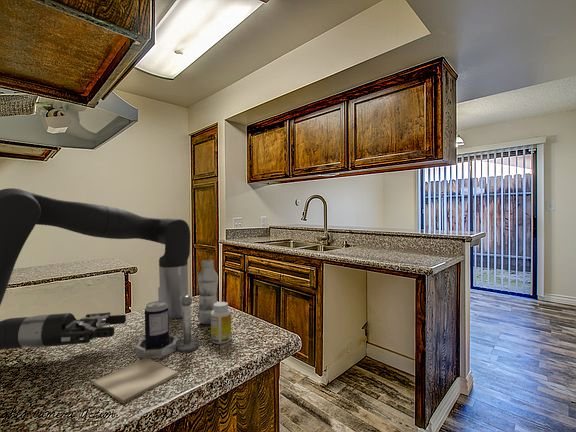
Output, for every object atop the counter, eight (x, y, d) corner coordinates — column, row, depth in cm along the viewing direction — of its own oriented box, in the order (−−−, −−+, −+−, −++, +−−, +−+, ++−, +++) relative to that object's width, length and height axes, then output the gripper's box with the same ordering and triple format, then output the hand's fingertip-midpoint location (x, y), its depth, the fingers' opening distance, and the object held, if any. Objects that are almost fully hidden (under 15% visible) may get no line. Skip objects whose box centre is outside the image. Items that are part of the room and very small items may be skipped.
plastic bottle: (209, 317, 104) (208, 258, 103) (223, 322, 100) (222, 260, 99) (193, 323, 99) (192, 261, 98) (207, 328, 95) (206, 263, 94)
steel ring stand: (129, 351, 80) (128, 299, 79) (173, 334, 91) (172, 288, 90) (160, 366, 73) (158, 308, 72) (203, 345, 83) (203, 294, 83)
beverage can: (173, 344, 84) (172, 300, 83) (162, 354, 78) (161, 307, 78) (152, 344, 84) (152, 300, 84) (141, 354, 79) (139, 307, 78)
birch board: (92, 383, 65) (92, 381, 65) (146, 360, 75) (146, 357, 75) (123, 403, 59) (123, 400, 59) (177, 374, 69) (177, 372, 69)
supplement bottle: (233, 336, 89) (232, 300, 89) (229, 344, 84) (228, 307, 83) (213, 336, 89) (213, 300, 89) (208, 344, 84) (208, 307, 83)
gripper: (29, 326, 69) (109, 320, 72) (62, 306, 83) (128, 301, 86) (30, 359, 69) (110, 352, 72) (63, 333, 83) (129, 328, 86)
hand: (120, 324), depth 79 cm, fingers open, 8 cm apart
